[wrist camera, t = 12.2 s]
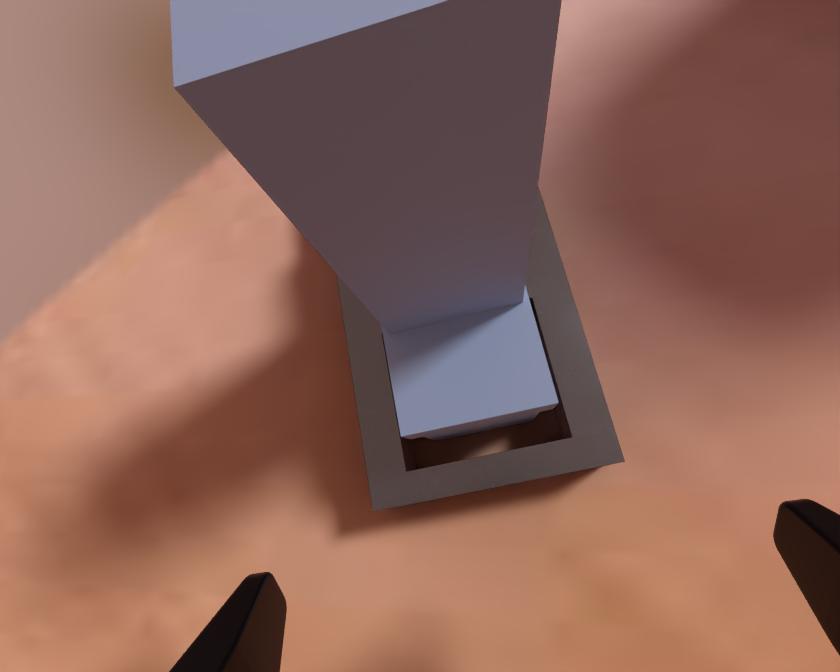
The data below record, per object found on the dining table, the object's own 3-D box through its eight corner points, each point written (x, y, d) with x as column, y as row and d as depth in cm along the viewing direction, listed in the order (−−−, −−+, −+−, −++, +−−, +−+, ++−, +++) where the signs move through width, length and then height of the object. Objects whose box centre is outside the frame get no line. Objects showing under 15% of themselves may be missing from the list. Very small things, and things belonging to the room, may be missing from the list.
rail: (610, 461, 16) (624, 461, 14) (387, 505, 17) (372, 511, 15) (510, 136, 20) (511, 102, 18) (335, 186, 21) (318, 158, 19)
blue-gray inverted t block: (544, 418, 17) (709, 241, 3) (425, 443, 17) (164, 374, 4) (481, 185, 20) (436, -402, 6) (381, 212, 20) (144, -281, 7)
